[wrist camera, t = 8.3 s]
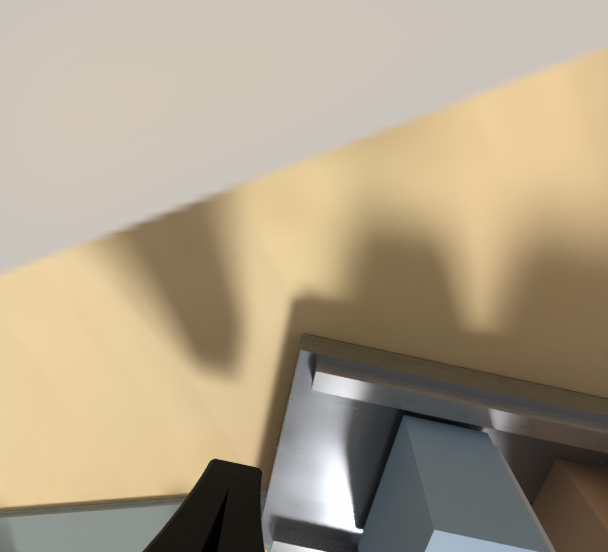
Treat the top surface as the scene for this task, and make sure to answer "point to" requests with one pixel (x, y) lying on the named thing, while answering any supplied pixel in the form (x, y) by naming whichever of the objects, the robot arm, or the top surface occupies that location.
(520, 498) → the block
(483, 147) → the top surface
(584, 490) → the block
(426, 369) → the vise
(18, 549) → the metal bracket
